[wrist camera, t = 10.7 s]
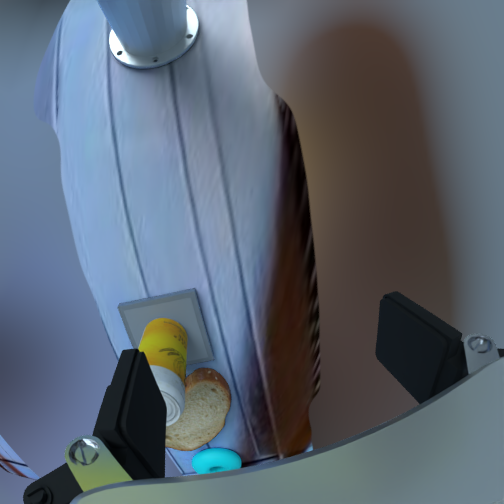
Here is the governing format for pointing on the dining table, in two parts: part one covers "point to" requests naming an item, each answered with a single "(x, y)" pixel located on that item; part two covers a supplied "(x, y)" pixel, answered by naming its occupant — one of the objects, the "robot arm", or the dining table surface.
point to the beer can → (167, 362)
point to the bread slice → (200, 411)
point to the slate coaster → (173, 307)
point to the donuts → (215, 460)
